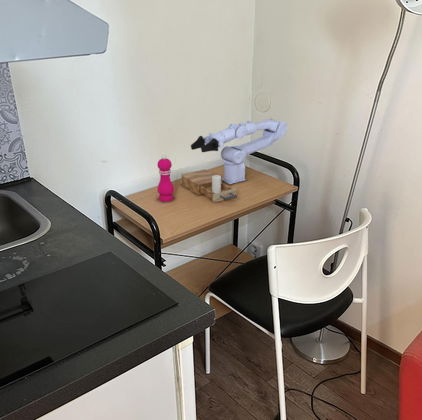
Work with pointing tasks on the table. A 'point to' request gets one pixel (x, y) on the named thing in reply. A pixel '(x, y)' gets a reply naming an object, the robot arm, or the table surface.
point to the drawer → (223, 195)
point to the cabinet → (197, 180)
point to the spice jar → (216, 184)
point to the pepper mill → (165, 180)
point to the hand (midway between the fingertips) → (196, 148)
